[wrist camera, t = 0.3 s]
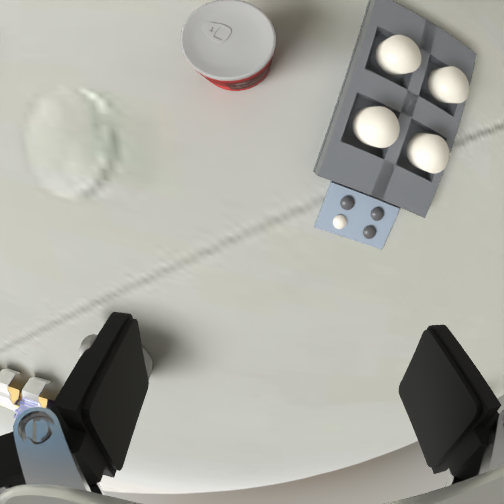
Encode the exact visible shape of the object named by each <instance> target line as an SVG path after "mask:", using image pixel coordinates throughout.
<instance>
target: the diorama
mask: <svg viewBox="0 0 504 504" xmlns="http://www.w3.org/2000/svg"><path fill="white" fill-rule="evenodd" d="M19 374H20V372H18V371H14V370H11V369H8V368H7V369H2V370H1V371H0V405H2V406H5V407H7V408H9V409H12V410H14V411H15V412H17V413H18V415H17V414H15V415H14V418H15V416H16V415H17V417H18V416H19V414H21V413H22V412H23V411H24V410H27V409H29V408H33V407H43V408H46V409H49V410H50V409H51V407H52V405H53V403H54V401H52V400H47V399H45V398H42V397H39V395H40V393H41V392H42V390H43V388H44V386H45V385H46V384H49V383H50V382H51V381H49V380H45V379H41V378H38V377H34V378H30V379H29V380H28V382H27V383H26V385H25V386H24V388H23V389H22V391H19V390H17V389H15V388H12V387H9V386H8V385H9V384H10V382H11V381H12V380H13V378H14V376H15V375H19ZM17 417H16V418H17ZM16 418H15V419H16Z"/></svg>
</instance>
